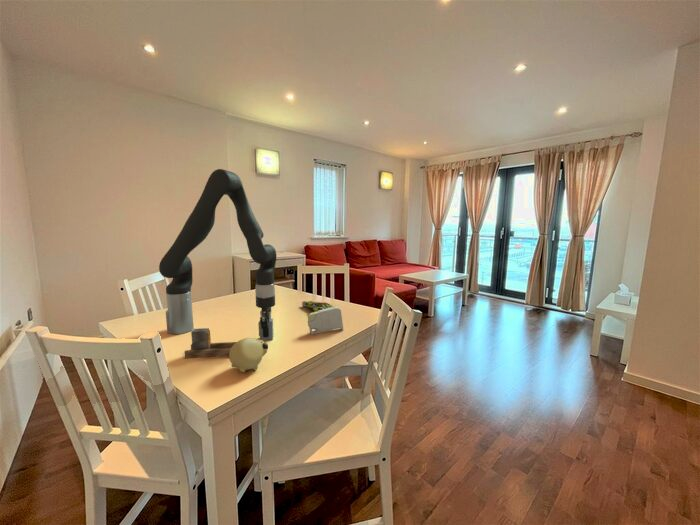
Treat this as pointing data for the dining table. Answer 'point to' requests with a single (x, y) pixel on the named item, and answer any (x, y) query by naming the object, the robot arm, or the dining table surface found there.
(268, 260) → the robot arm
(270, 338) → the grey rectangular block
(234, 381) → the dining table surface
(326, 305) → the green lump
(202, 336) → the rail
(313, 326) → the grey rectangular slab
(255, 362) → the toy pig
